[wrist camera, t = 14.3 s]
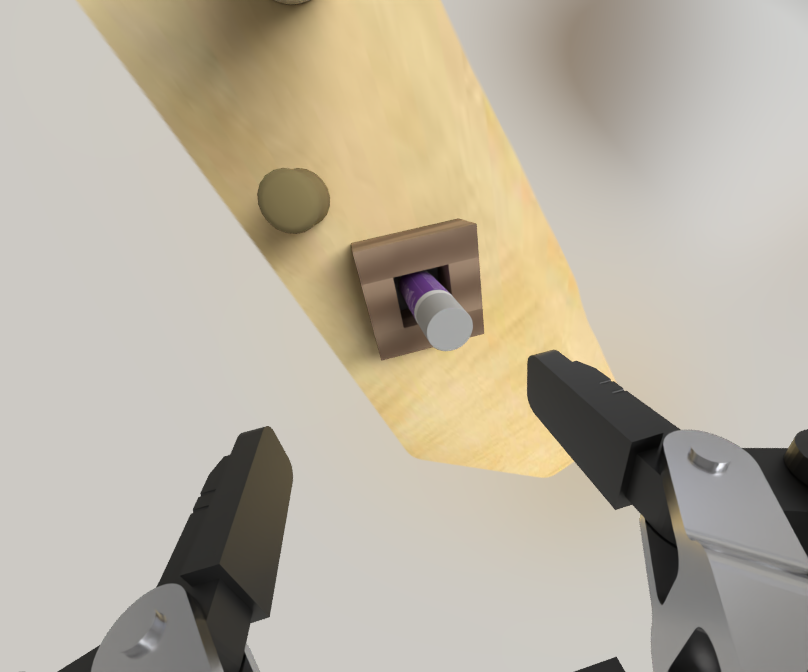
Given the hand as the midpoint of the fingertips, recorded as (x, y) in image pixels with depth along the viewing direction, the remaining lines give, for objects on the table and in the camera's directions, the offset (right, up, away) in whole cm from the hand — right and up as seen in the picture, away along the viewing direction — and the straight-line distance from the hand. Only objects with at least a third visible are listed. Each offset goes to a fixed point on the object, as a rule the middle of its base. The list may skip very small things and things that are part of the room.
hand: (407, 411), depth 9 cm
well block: (+1, +10, +32) cm, 33 cm away
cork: (-12, +18, +25) cm, 33 cm away
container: (+1, +10, +32) cm, 33 cm away
